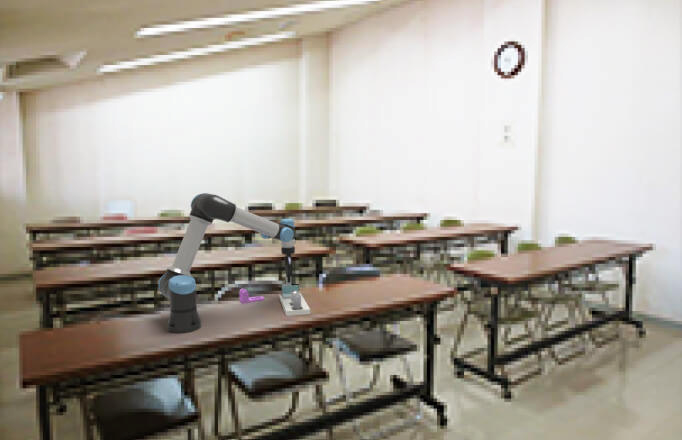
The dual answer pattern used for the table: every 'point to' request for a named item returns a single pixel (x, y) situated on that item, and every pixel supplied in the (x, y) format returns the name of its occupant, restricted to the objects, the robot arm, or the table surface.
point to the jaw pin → (292, 296)
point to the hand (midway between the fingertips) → (288, 287)
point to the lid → (289, 290)
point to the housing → (295, 305)
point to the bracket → (245, 297)
